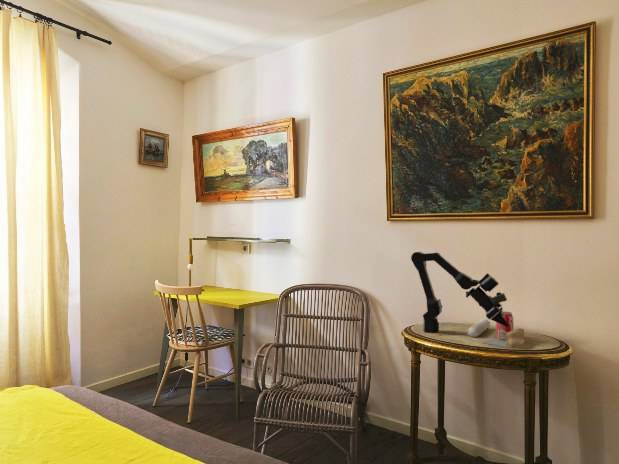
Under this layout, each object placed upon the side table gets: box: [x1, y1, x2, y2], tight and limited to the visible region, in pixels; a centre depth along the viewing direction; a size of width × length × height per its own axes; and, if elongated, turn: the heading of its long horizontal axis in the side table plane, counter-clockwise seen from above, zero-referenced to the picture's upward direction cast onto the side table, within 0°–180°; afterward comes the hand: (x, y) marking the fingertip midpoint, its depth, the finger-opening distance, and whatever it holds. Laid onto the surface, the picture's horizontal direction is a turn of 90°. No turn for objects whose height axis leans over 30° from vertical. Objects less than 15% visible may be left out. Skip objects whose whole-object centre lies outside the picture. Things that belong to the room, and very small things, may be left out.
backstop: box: [505, 328, 525, 349], centre depth 186 cm, size 2×14×6 cm, turn 134°
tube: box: [467, 318, 491, 338], centre depth 210 cm, size 5×5×25 cm
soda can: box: [495, 310, 514, 341], centre depth 198 cm, size 7×7×12 cm
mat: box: [482, 338, 507, 348], centre depth 189 cm, size 10×10×1 cm
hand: (508, 324), depth 197 cm, fingers closed on soda can, 7 cm apart
